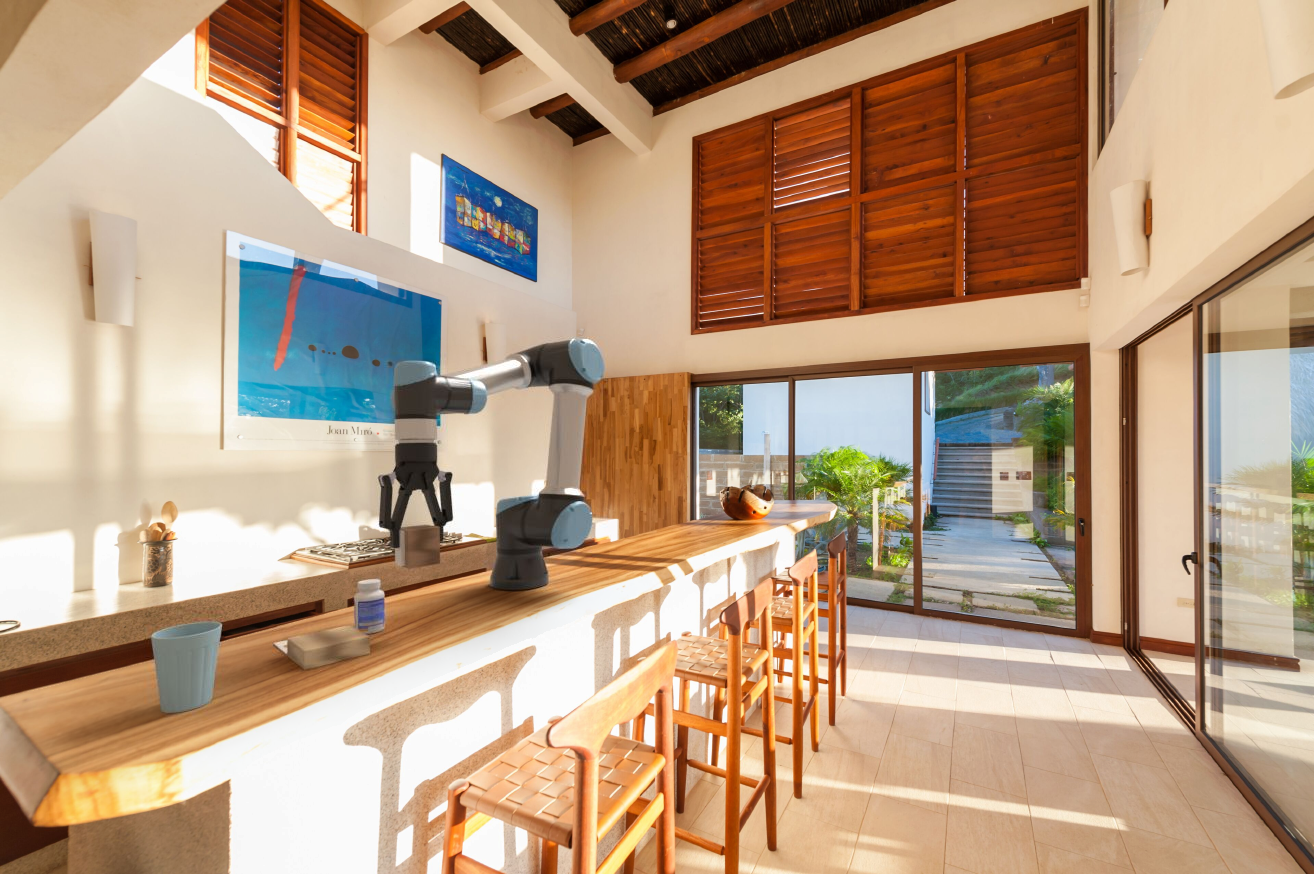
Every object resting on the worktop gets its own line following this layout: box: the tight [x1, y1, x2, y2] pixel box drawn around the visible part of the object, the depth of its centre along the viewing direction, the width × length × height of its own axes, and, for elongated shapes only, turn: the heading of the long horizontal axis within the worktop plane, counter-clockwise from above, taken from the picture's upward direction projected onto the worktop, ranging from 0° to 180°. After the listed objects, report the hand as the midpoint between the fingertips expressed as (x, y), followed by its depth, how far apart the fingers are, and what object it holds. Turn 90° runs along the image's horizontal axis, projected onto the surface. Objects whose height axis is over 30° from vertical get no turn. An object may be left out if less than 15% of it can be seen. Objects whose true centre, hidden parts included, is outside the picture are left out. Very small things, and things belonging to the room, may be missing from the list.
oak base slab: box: [286, 624, 371, 671], centre depth 99 cm, size 10×10×3 cm
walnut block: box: [400, 524, 441, 570], centre depth 110 cm, size 6×6×7 cm
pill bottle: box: [353, 578, 386, 635], centre depth 113 cm, size 5×5×10 cm
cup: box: [150, 621, 223, 714], centre depth 80 cm, size 8×8×10 cm
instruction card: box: [273, 640, 287, 655], centre depth 106 cm, size 10×8×1 cm
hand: (417, 561), depth 110 cm, fingers closed on walnut block, 6 cm apart
